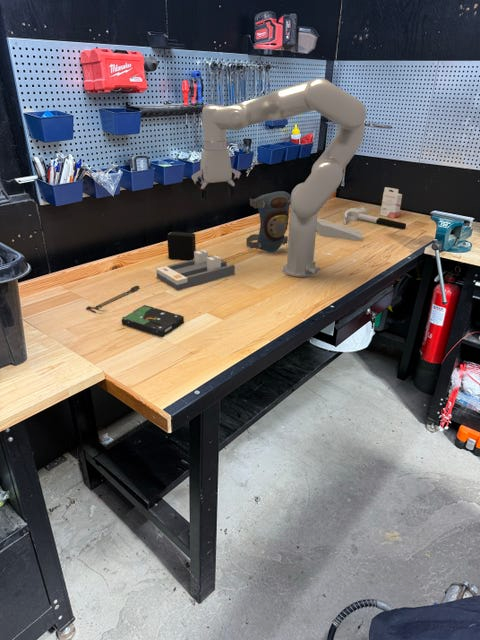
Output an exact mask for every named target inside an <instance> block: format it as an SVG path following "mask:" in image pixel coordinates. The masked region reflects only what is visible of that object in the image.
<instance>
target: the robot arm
mask: <svg viewBox="0 0 480 640" xmlns="http://www.w3.org/2000/svg"><path fill="white" fill-rule="evenodd" d="M314 111H315V112H316V113H318V114H319V115H321V116H323V117H325V118H326V119H328V120H329V121H331V122H333V123H335V124H337V132H336V134H335V136H334V137H333V139H332V140H331V142H330V143H329V145H328V146H327V147H326V149H325V150H324V151H323V153H321V155H320V156H319V158H318V159H317V160H316V161H315V162H314V163H313V165H312V167H311V173H310V174H309V176H308V177H307V178H306V179H305V181H304V182H301V183H298V184H296V186H295V187H294V188H293V189H292V191H291V194H290V196H291V199H290V206H289V222H288V225H289V226H288V241H287V260H286V264H284V265H283V266H282V269H281V270H282V272H283V273H284V274H286V275H288V276H291V277H296V278H308V277H312V276H316V275H317V274H318V273H319V272H320V270H321V268H320V266H319V267H318V266H316V261H314V260H315V259H314V257H315V248H316V235H317V230H316V227H317V218H318V212H319V211H321V209H322V208H323V207H324V205H325V204H326V203H327V202H328V201H329V199H330V198H331V197H332V195H334V193H335V192H336V191H337V189H338V188H339V186H340V185H341V182H342V180H343V175H344V173H343V170H344V169H345V168H346V166H347V165H348V164H349V163H350V161H351V160H352V158H353V157H354V156H355V154H356V153H357V152H358V150H359V148H360V146H361V145H362V142H363V139H364V135H365V125H366V124H365V120H366V118H367V109H366V106H365V104H364V103H363V102H362V101H361V100H359V99H358V98H356V97H354V96H353V95H351V94H350V93H348V92H347V91H345V90H343V89H341V88H339V87H338V86H336V85H335V84H333V83H332V82H330V81H329V80H328V79H326V78H315V79H312V80H308V81H304V82H301V83H298V84H295V85H291V86H288V87H284V88H281V89H277V90H274V91H272V92H270V93H268V94H266V95H262V96H260V97H257V98H253V99H250V100H246V101H242V102H239V103H236V104H233V105H227V106H224V105H219V104H218V105H216V104H215V105H205V106H203V108H202V112H201V114H202V116H201V117H202V118H201V119H202V131H203V132H202V134H203V136H202V138H203V150H202V151H201V153H200V170H198V171H196V172H195V173H194V174H191V179H192V180H193V182H194V184H195V185H196V186H197V187H198V188H199V192H200V194H199V196H200V198H201V200H202V201H204V202H206V201H207V189H206V186H207V185H208V184H211V183H214V184H215V183H223V182H225V183H226V182H227V183H228V185H227V197H228V198H230V199H233V198H234V196H235V188H234V187H235V185H236V184H237V182H238V181H239V179H240V176H241V174H242V173H241V172H240V171H239V170H236V168H232V163H231V162H232V161H231V156H230V151H229V150H228V148H229V147H231V141H228V140H227V130H230V131H241V130H243V129H245V128H246V127H248V126H252V125H256V124H259V123H264V122H267V121H281V120H284V119H288V118H292V117H297V116H299V115H302V114H306V113H311V112H314ZM232 174H234V177H233V178H232V176H233V175H232ZM198 178H200V180H201V182H200V181H199V179H198Z"/></svg>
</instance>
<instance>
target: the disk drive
mask: <svg viewBox="0 0 480 640" xmlns="http://www.w3.org/2000/svg"><path fill="white" fill-rule="evenodd" d="M121 318H122V319H121V325H122V326H125V327H128V328H131V329H135V330H138V331H141V332H144V333H147V334H150V335H152V336H154V337H155V336H156V337H159V338H164V337H165V336H167V335H168V334H169V333H172V332H174V330H176V329H178V327H179V328H180V326H181V325H184V324H185V316H184V315H181V314H176V313H175V312H172V311H167V310H163V309H160V308H156V307H153V306H151V305H150V306H149V305H147V304H144V305H142V306H140V307H138V308H136V309H134V310H132V312H130V313H128V314H127V315H125V316H122V317H121Z"/></svg>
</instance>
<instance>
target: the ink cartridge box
mask: <svg viewBox="0 0 480 640" xmlns="http://www.w3.org/2000/svg"><path fill="white" fill-rule="evenodd" d="M383 189H384V190H383V193H382V200H381V208H380V216H383V217H387V218H392V219H395V218H399V216H400V210H401V205H402V198H403V194H401V193H399V188H393V187H388V186H387V187H386V186H385V187H384V188H383Z"/></svg>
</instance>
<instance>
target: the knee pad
mask: <svg viewBox="0 0 480 640" xmlns="http://www.w3.org/2000/svg"><path fill="white" fill-rule="evenodd" d="M290 199H291V194H290V193H289V192H286V191H284V190H283V191H282V190H280V191H274V192H271V193H266V194H265V193H264V194H261V195H260V196H258V197H255V198H251V197H250V198H249V206H251V207H253V209H258V215H259V219H260V220H259V222H260V223H259V224H260V226H259V231H258V233H257V234H256V233H254V234H251V235H249V236H248V237H246V241H245V242H246V246H247V247H248V248H249V249H256V250H261V251H263V252H267V253H274V252H277V251H278V250H280V248H281V247H282V245H284V246H285V244H287V245H288V240H289V235H288V236H285V235H286V232H287V230H288V227H289V226H288V225H289V220H290ZM254 241H255V242H254Z"/></svg>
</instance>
